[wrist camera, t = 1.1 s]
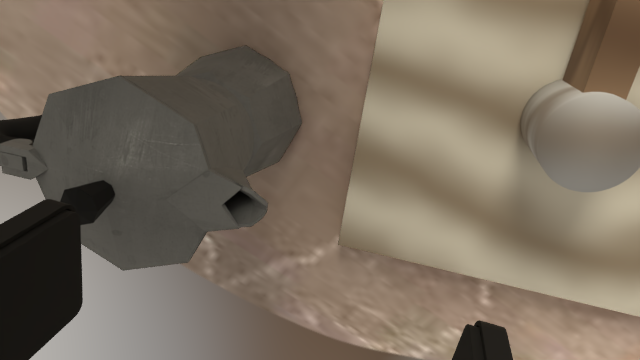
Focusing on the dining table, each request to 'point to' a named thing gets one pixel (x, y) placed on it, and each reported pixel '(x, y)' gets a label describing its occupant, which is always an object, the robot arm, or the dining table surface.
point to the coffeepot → (159, 154)
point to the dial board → (483, 155)
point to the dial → (591, 104)
